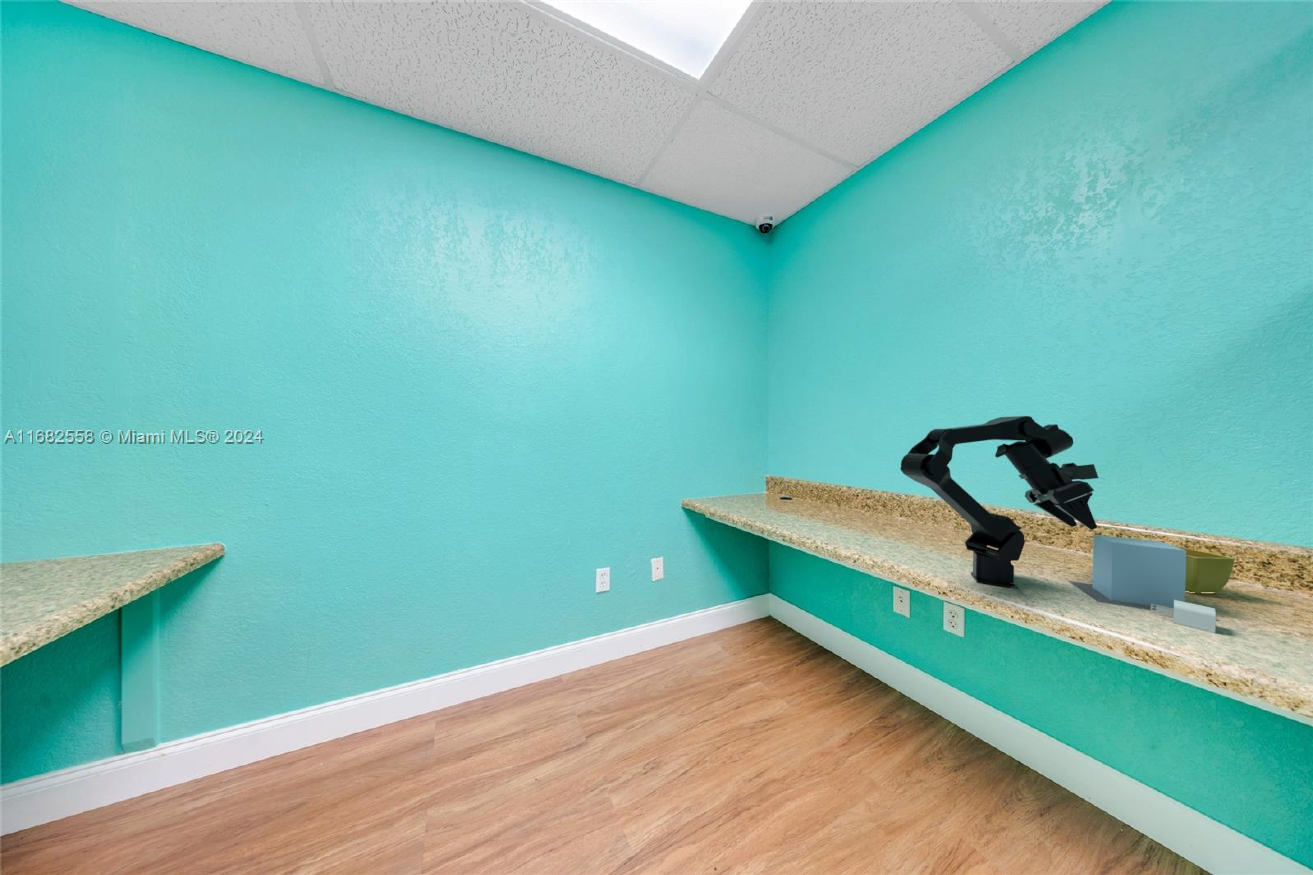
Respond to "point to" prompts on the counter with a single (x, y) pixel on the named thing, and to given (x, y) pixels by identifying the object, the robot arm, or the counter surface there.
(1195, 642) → the counter surface
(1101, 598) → the mat
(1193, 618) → the usb wall charger
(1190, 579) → the flower pot
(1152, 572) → the light blue rectangular block
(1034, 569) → the counter surface
